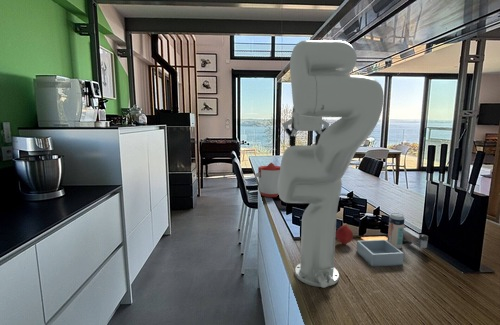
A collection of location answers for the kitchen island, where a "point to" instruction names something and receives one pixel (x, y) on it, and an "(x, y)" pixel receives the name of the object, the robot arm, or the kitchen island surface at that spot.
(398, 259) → the tray
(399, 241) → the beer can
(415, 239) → the crank arm
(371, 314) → the kitchen island surface
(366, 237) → the crank base
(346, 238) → the onion
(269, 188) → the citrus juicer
